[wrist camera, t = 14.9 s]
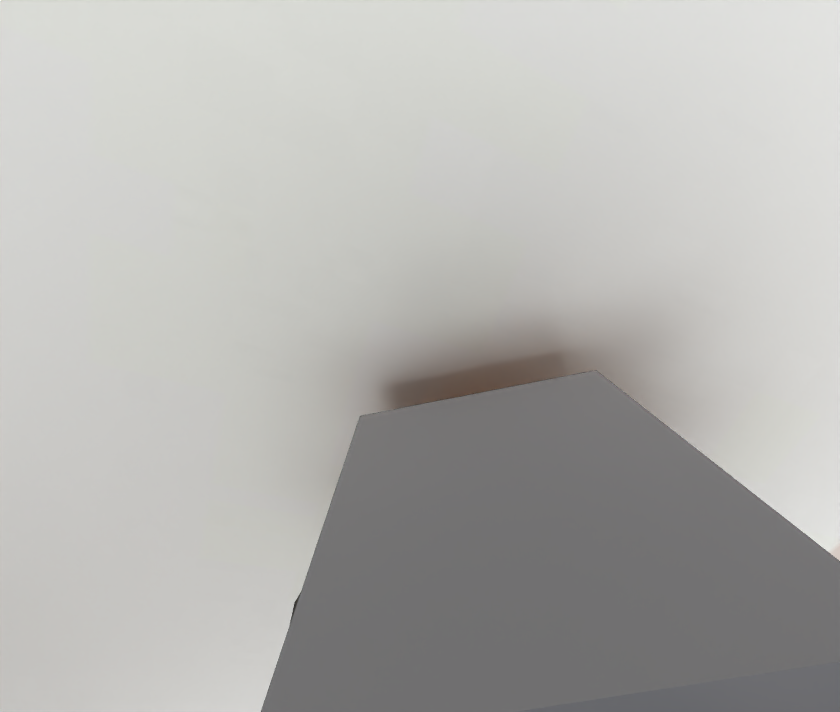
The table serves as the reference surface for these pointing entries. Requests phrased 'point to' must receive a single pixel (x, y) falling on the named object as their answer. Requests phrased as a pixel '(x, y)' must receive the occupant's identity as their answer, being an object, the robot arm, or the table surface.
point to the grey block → (554, 570)
